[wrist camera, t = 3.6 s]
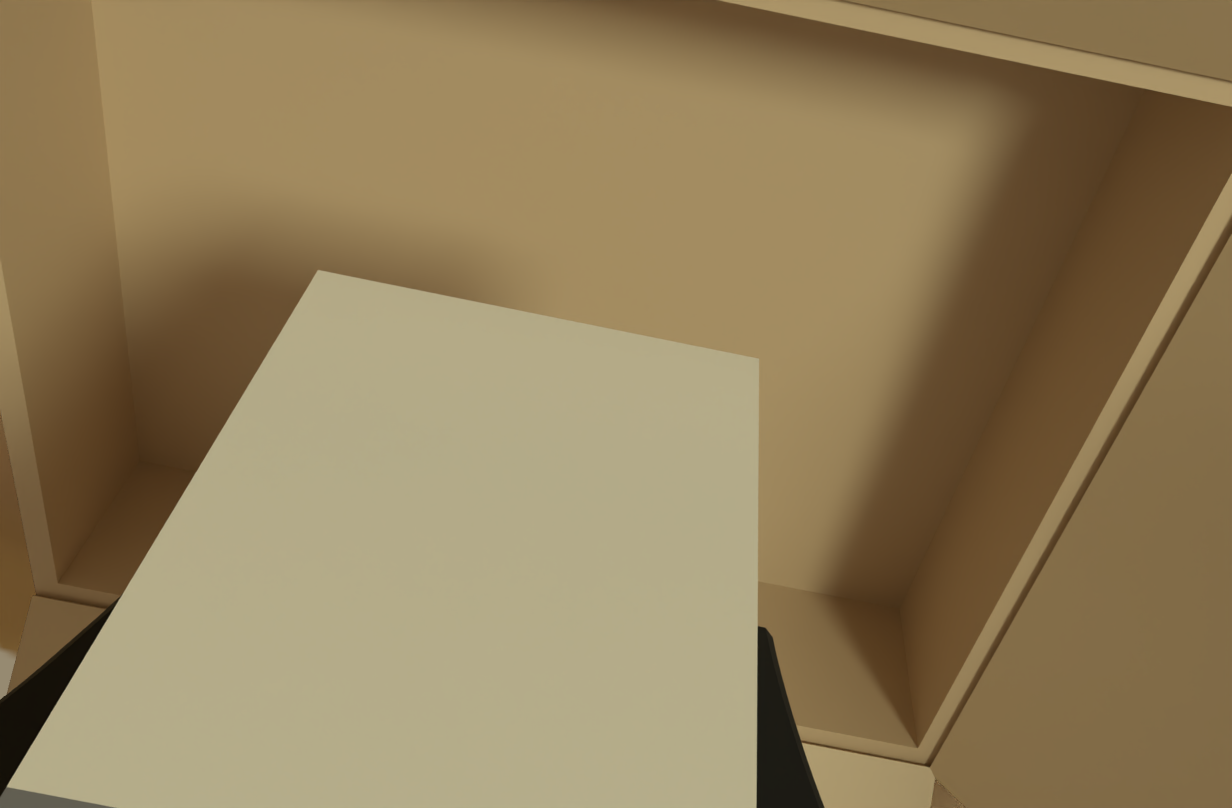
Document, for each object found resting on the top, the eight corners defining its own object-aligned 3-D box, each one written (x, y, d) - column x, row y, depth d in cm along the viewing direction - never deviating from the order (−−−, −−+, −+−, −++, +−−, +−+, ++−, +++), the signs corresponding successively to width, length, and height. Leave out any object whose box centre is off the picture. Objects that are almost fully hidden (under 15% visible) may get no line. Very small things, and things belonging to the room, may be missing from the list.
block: (759, 358, 12) (754, 1110, 6) (648, 723, 15) (582, 1402, 10) (318, 269, 12) (-94, 951, 6) (312, 658, 15) (50, 1307, 10)
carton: (1592, -225, 13) (2123, -68, 8) (1004, 733, 24) (1070, 1061, 19) (13, -567, 13) (-489, -632, 8) (141, 567, 23) (-32, 856, 18)
